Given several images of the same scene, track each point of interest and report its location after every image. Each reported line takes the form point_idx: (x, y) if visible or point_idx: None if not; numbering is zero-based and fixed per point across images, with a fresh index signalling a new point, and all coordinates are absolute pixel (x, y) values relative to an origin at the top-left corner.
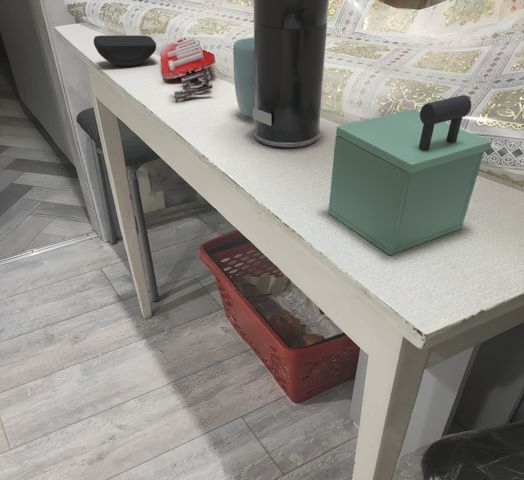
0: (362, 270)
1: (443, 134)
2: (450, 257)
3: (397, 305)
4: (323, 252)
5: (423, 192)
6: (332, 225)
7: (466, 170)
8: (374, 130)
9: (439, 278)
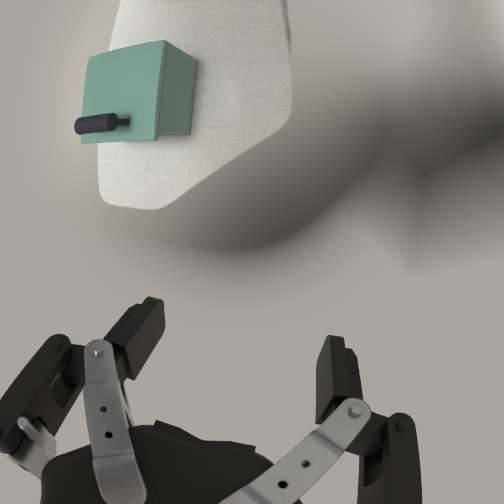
0: None
1: (133, 106)
2: (154, 158)
3: (101, 178)
4: None
5: None
6: None
7: None
8: (101, 74)
9: (132, 172)
